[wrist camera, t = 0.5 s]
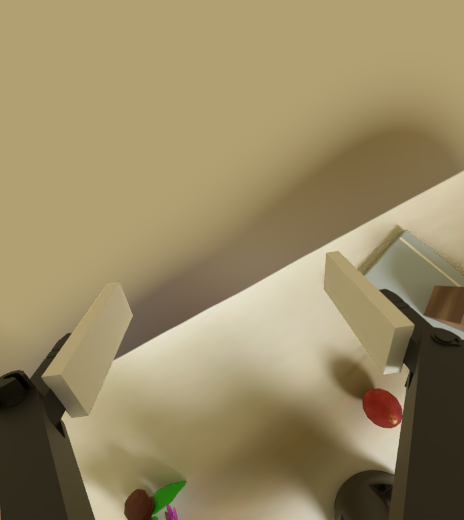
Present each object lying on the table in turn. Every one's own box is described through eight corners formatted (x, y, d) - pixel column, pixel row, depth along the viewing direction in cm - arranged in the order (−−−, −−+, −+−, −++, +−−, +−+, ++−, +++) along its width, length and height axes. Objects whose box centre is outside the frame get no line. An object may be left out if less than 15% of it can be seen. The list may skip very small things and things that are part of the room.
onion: (385, 380, 46) (413, 402, 38) (388, 412, 46) (417, 441, 38) (353, 381, 47) (375, 403, 39) (356, 413, 46) (378, 441, 38)
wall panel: (507, 316, 45) (527, 319, 42) (442, 388, 45) (456, 397, 42) (403, 231, 48) (413, 227, 45) (340, 299, 48) (347, 301, 45)
